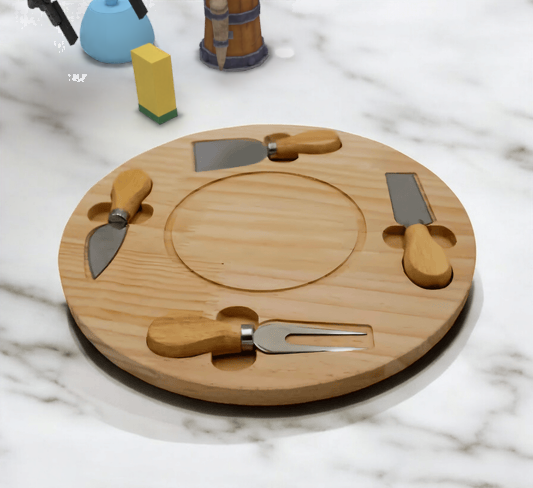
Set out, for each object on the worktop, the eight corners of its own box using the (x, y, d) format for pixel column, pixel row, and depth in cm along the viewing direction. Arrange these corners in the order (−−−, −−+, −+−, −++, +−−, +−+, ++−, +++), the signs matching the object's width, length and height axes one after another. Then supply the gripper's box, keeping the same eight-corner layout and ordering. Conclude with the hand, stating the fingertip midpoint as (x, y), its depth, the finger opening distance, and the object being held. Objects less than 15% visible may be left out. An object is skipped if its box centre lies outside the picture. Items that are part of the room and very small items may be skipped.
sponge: (139, 110, 119) (129, 50, 110) (157, 102, 121) (149, 42, 112) (159, 124, 116) (151, 63, 107) (177, 115, 118) (171, 55, 109)
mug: (257, 88, 124) (257, -16, 110) (184, 81, 126) (174, -22, 112) (274, 40, 138) (275, -58, 124) (207, 34, 140) (201, -63, 126)
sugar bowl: (107, 26, 142) (97, -27, 134) (168, 39, 138) (162, -15, 130) (68, 58, 132) (55, 3, 124) (133, 72, 128) (124, 16, 120)
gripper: (101, -95, 114) (162, 15, 117) (-35, -60, 102) (38, 62, 104) (113, -122, 108) (178, -5, 110) (-30, -88, 95) (47, 43, 98)
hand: (110, 28), depth 107 cm, fingers open, 13 cm apart
